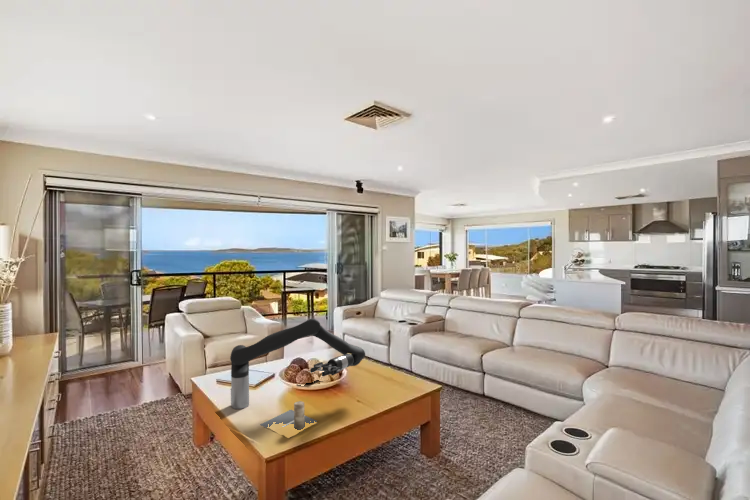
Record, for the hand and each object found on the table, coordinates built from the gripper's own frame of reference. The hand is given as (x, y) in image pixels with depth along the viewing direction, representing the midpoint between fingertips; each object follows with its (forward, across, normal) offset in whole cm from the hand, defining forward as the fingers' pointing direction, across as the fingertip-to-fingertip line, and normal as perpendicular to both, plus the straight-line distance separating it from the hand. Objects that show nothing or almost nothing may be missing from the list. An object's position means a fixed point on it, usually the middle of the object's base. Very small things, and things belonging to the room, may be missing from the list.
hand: (316, 372), depth 193 cm
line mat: (+12, -7, +25) cm, 28 cm away
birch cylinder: (+12, 0, +24) cm, 27 cm away
